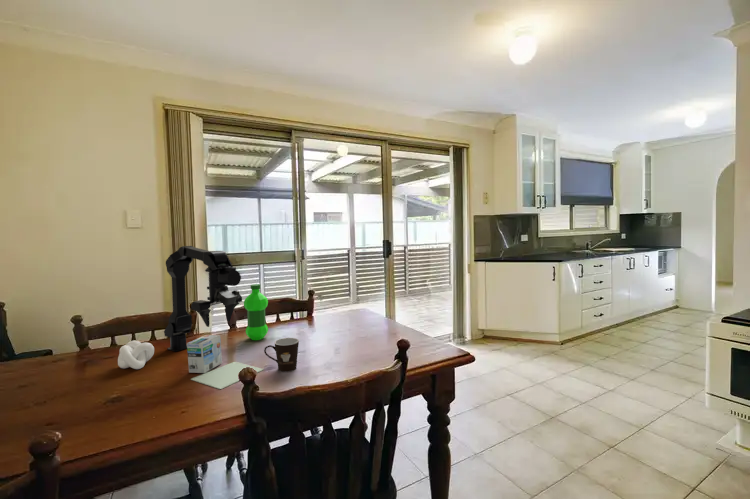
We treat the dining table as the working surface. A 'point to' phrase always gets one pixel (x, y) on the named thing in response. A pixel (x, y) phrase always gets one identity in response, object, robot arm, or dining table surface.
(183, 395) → the dining table surface
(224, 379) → the mat
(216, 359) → the light bulb box
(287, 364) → the coffee mug
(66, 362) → the dining table surface
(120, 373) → the dining table surface
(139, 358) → the white decorative knot
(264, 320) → the plastic bottle
